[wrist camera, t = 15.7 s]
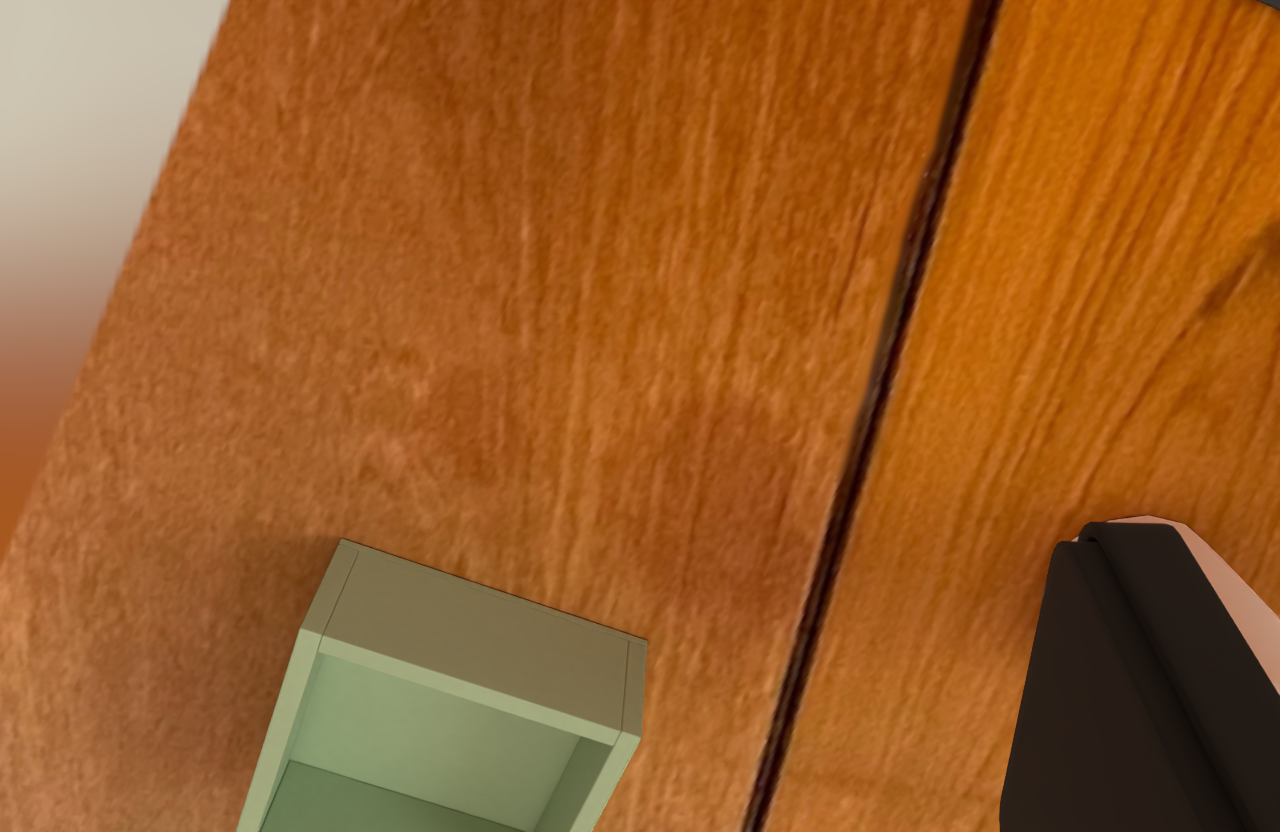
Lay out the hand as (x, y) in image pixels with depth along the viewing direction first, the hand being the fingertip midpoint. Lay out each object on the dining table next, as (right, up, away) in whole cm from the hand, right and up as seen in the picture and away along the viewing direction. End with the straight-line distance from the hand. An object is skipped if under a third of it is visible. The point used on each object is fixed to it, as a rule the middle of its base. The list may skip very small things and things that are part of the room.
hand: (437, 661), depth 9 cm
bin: (-6, -10, +40) cm, 42 cm away
